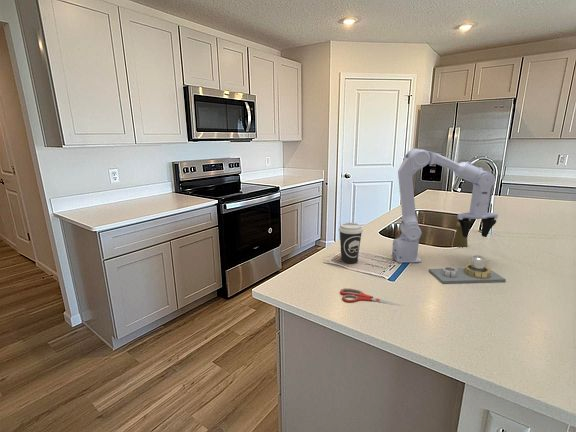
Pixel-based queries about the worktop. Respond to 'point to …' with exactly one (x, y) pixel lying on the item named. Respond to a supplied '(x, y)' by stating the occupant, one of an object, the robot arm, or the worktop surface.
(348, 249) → the coffee cup
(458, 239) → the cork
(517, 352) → the worktop surface
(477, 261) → the metal cylinder peg
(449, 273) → the narrow socket
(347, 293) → the scissors
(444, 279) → the fitting board
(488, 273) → the wide socket
